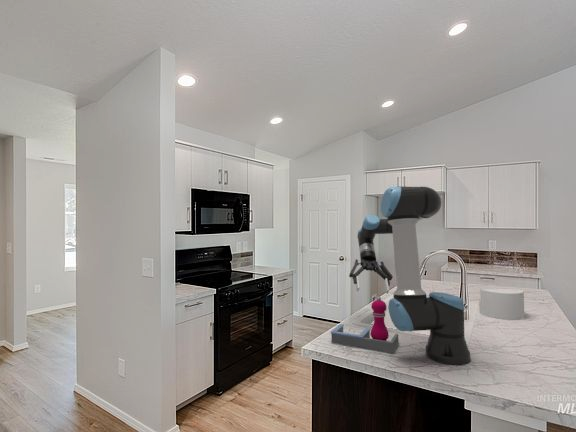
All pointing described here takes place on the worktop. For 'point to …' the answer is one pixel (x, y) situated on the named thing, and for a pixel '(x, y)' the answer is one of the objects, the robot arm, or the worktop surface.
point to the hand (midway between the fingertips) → (372, 290)
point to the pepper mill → (379, 320)
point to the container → (502, 303)
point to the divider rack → (363, 340)
